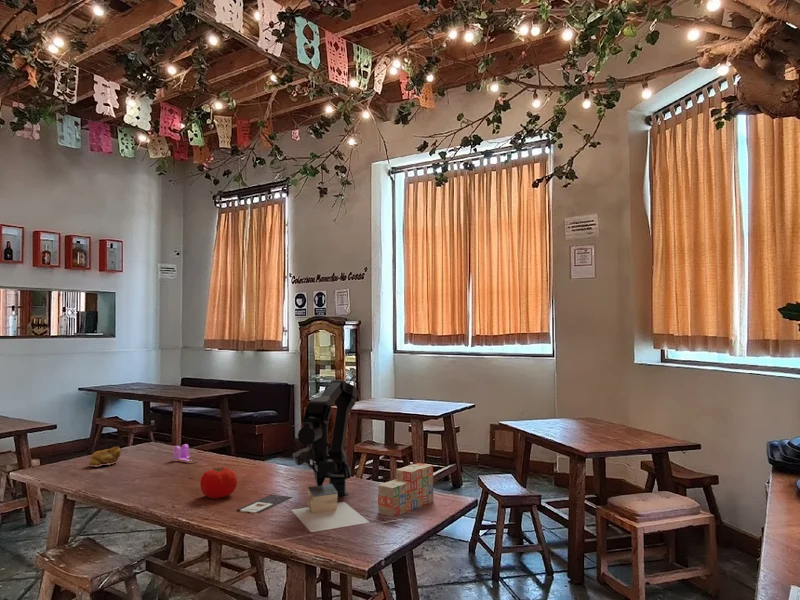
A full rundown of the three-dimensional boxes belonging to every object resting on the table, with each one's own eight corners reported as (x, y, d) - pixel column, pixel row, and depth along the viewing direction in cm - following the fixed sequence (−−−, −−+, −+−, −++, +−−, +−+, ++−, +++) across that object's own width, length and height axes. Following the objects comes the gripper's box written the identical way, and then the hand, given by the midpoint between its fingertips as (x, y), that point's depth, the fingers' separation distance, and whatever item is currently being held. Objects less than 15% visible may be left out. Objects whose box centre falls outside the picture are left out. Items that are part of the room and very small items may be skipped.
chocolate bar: (292, 496, 199) (259, 512, 183) (292, 499, 199) (259, 515, 183) (271, 494, 203) (236, 509, 186) (271, 497, 203) (236, 512, 186)
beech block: (307, 504, 186) (308, 487, 185) (330, 500, 190) (332, 483, 189) (312, 513, 181) (313, 495, 180) (336, 509, 184) (337, 492, 183)
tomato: (205, 492, 208) (205, 464, 209) (240, 492, 208) (240, 463, 209) (194, 502, 197) (194, 471, 197) (231, 501, 197) (231, 470, 198)
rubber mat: (291, 511, 185) (291, 509, 185) (344, 503, 193) (344, 501, 193) (311, 533, 164) (311, 532, 164) (369, 523, 172) (369, 522, 172)
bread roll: (93, 470, 246) (93, 451, 247) (82, 467, 252) (83, 448, 253) (123, 464, 257) (123, 445, 257) (112, 461, 263) (112, 443, 263)
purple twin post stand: (173, 461, 261) (173, 445, 261) (183, 458, 265) (183, 443, 266) (191, 464, 254) (191, 448, 254) (201, 462, 258) (201, 446, 259)
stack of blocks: (393, 518, 176) (392, 478, 177) (377, 514, 180) (377, 475, 181) (434, 501, 193) (433, 464, 194) (419, 498, 197) (418, 462, 198)
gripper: (288, 436, 193) (288, 483, 193) (302, 446, 176) (302, 498, 176) (320, 433, 198) (320, 479, 197) (337, 443, 181) (337, 493, 180)
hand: (319, 487), depth 188 cm, fingers closed
